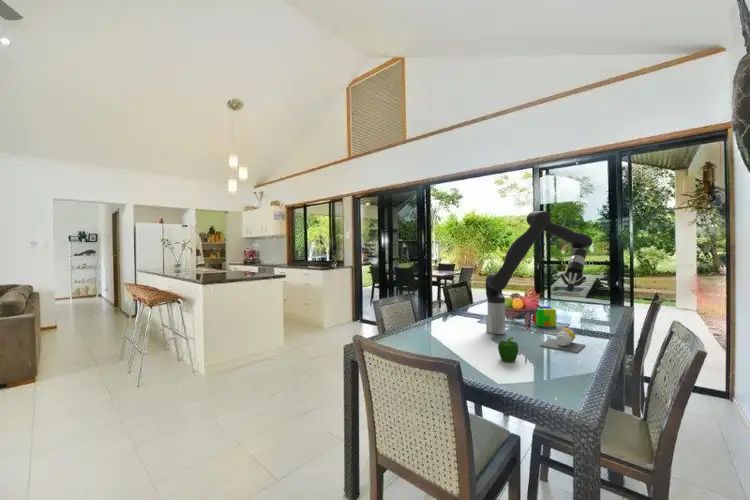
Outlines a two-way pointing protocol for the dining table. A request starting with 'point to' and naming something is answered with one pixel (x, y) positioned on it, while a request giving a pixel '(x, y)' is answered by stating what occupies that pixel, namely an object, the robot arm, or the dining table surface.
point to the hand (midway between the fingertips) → (569, 290)
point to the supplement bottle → (565, 336)
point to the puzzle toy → (545, 316)
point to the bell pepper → (508, 350)
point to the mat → (569, 348)
